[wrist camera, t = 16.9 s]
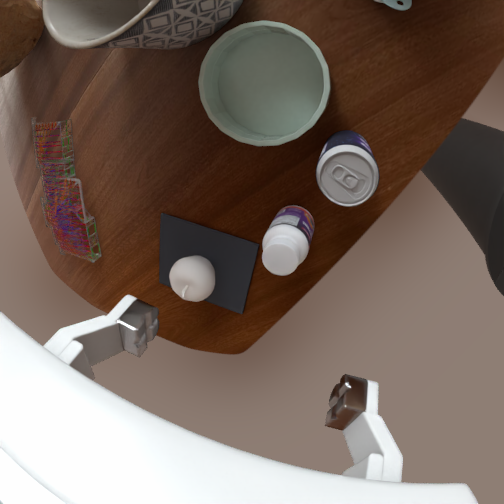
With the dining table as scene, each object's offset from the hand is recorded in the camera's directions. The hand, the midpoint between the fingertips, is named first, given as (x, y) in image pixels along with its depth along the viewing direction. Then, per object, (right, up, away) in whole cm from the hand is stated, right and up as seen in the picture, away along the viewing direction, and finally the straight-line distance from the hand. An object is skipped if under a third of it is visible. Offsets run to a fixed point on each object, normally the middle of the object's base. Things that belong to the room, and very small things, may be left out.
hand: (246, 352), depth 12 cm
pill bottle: (+6, +8, +29) cm, 30 cm away
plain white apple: (-8, +2, +36) cm, 37 cm away
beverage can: (+12, +16, +22) cm, 30 cm away
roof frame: (-36, +17, +38) cm, 55 cm away
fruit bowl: (+3, +24, +20) cm, 31 cm away
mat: (-8, +2, +37) cm, 38 cm away
